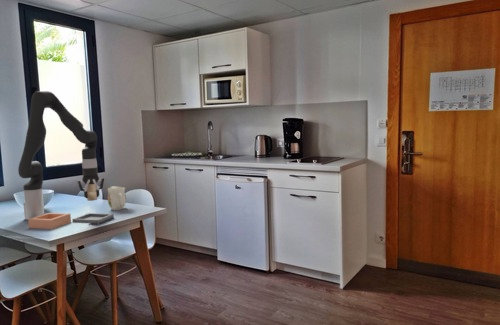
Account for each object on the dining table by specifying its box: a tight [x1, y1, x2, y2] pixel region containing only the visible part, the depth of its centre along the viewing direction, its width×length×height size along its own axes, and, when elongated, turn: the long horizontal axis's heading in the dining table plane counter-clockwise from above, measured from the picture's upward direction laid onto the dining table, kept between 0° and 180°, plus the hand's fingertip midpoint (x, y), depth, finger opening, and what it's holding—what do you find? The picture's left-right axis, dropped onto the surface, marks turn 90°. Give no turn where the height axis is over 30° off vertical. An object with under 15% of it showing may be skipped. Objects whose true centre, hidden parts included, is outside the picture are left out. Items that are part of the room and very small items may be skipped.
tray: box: [71, 212, 115, 226], centre depth 209 cm, size 16×14×2 cm
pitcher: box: [107, 185, 127, 211], centre depth 236 cm, size 11×18×14 cm, turn 36°
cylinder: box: [86, 184, 98, 202], centre depth 207 cm, size 5×5×9 cm
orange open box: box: [27, 212, 72, 230], centre depth 199 cm, size 14×14×6 cm
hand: (92, 197), depth 207 cm, fingers closed on cylinder, 5 cm apart
